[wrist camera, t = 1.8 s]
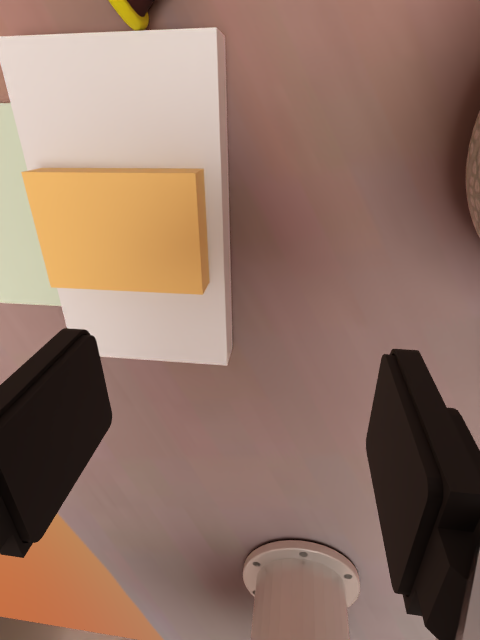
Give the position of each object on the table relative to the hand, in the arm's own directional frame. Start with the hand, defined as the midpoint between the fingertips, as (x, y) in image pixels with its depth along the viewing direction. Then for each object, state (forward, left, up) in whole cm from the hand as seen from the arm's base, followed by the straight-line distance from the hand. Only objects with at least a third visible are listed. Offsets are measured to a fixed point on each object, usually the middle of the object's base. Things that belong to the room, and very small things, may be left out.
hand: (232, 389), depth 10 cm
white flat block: (0, +9, -18) cm, 20 cm away
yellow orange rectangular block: (0, +9, -15) cm, 18 cm away
